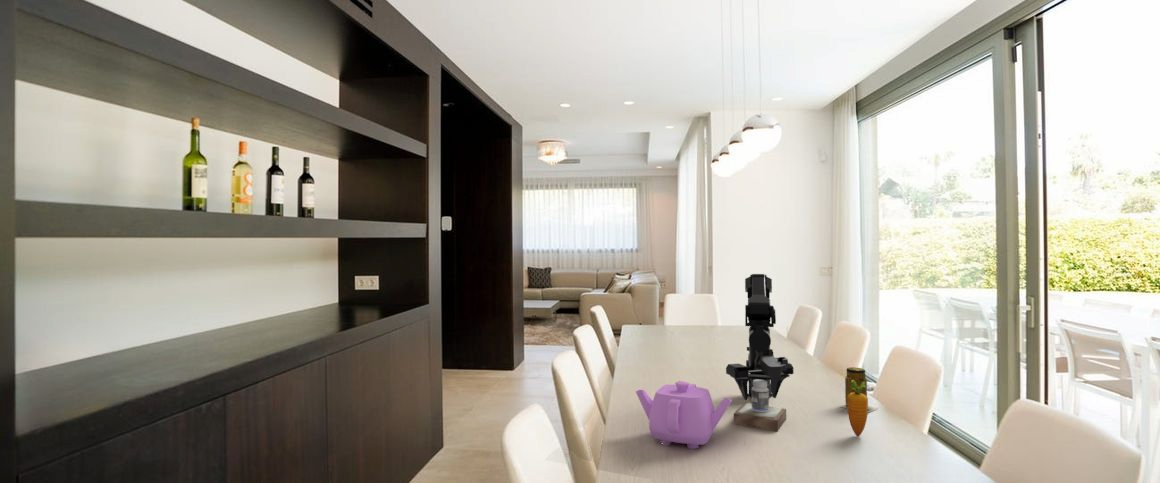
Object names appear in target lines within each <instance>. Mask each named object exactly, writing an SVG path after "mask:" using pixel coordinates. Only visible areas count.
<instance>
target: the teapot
mask: <svg viewBox="0 0 1160 483" xmlns="http://www.w3.org/2000/svg"><path fill="white" fill-rule="evenodd" d="M635 393H636V396H637V397H638V400H639V402H640V404H641V406H642V408H643V411H644V412H645V414H646V416H647V419H648V428H649V432H650V434H651V436H652V438H654V439H657V440H660V441H659V443H660V442H661V443H663V444H669V445H671V444H672V443H678V444H686V446H687V448H688V449H690V448H691V449H690V450H698V449H700V446H699V445H702V446H703V445H705V444H707V443H708V442H709V441H710V440H711V438H712V435H713V434H714V431H715V428H717V426H718V425H719V422H720V421H721V419H722V417H723V416H724V415H725V413H726V411H727V409H728V408H729V406H730V404H731V403H732V399H730V398H726V397H724V398H723V399H722V401H721V402H720V403H719V405H718V406H717V407H716V409H715V408H714V407H715V406H714V403H713V400H712V397H711V396H712V395H711V392H710V391H709V389H708V388H704V387H698V386H697V384H695V383H689V382H688V381H683V380H682V381H680V380H679V381H677V382H676V381H675V384H663V385H662V386H661V387H660V388H659V389H658V390H657V391H656V392H655V394H654V397H653V399H652V398H651V397H650V396H649V394H648V393H647V392H646V391H645V389H637V390H636V391H635ZM670 443H671V444H670ZM663 444H662V445H663ZM697 448H698V449H697Z"/></svg>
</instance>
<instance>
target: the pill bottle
mask: <svg viewBox="0 0 1160 483" xmlns="http://www.w3.org/2000/svg"><path fill="white" fill-rule="evenodd" d="M769 400H770V397H769V389H768V388H767V381H765V380H760V379H756V380H753V387H752V397H751V404H752V410H754V411H756V412H768V411H769V406H770V404H769V403H770V401H769Z"/></svg>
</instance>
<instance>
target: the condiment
mask: <svg viewBox="0 0 1160 483" xmlns="http://www.w3.org/2000/svg"><path fill="white" fill-rule="evenodd" d="M866 376H867V375H866V370H865V369H864V368H860V367H855V366H854V367H847V368H846V376H845V378H844V379H845V380H844V381H845V384H844V385H845V389H844V391H845V400H844V401H845V404H842V405H840V408H844V409H848V408H847V396H848V395H849V394H850V393H854V390H853V389H852V388H853V386H852V383H851V380H854V381H855V382H856V384H857V386H858V387H860V386H861V384H862V382H863V381H864V382H866V383H865V386H866V388H863V390H862V391H861V393H862V394H864V395H866V396H867V397H868V379H867V378H866ZM878 409H879V408H878V407H874V406H870V405H868V413H870V412H873V411H876V410H878Z"/></svg>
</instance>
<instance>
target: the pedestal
mask: <svg viewBox="0 0 1160 483" xmlns="http://www.w3.org/2000/svg"><path fill="white" fill-rule="evenodd" d="M786 420H787V408H784V407H783V408H782V407H778V406H777V407H776V406H775V407H774V406H770V405H769V411H768V412H756V411H754V410H752V403H747V402H743V404H742V405H741V406H739V408H737V409H736V410H735V412H733V425H736V426H738V425H739V426H743V427H749V428H756V429H760V430H761V429H762V430H767V431H772V432H779V430H780V429H781V427H782V426H783V425H784V424H785V422H786Z"/></svg>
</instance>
